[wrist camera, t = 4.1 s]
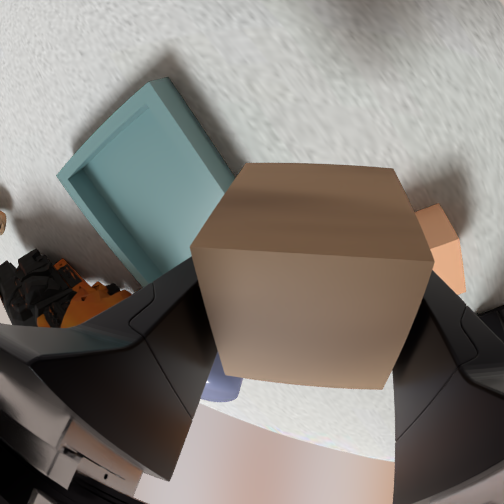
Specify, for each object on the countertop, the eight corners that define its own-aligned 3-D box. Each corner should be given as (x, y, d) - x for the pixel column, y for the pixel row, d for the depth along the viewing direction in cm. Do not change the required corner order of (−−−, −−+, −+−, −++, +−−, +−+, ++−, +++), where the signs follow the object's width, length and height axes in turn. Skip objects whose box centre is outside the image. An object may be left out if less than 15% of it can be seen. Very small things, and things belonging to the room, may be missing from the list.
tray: (298, 278, 25) (295, 300, 23) (189, 309, 30) (180, 328, 28) (168, 77, 17) (148, 81, 15) (74, 163, 23) (56, 175, 21)
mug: (293, 335, 29) (281, 398, 24) (215, 350, 34) (195, 402, 28) (256, 286, 26) (235, 352, 21) (176, 309, 31) (148, 363, 25)
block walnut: (375, 283, 11) (382, 389, 7) (257, 275, 12) (224, 375, 8) (393, 168, 8) (435, 261, 5) (246, 163, 9) (189, 247, 6)
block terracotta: (449, 252, 20) (465, 291, 16) (397, 269, 22) (406, 311, 18) (438, 202, 18) (458, 238, 15) (381, 223, 20) (390, 262, 17)
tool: (74, 208, 35) (-20, 260, 25) (194, 295, 26) (54, 404, 16) (86, 256, 40) (4, 307, 30) (196, 348, 31) (90, 440, 21)
